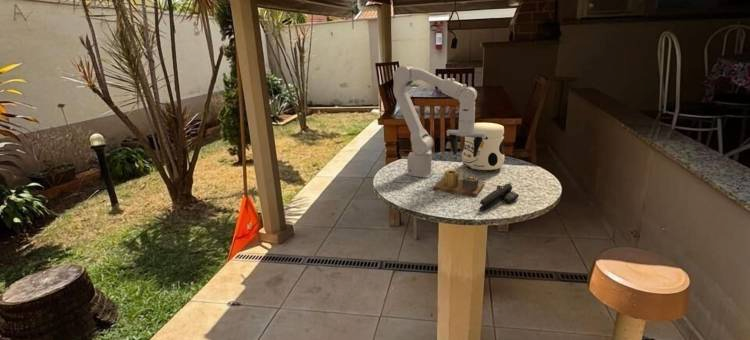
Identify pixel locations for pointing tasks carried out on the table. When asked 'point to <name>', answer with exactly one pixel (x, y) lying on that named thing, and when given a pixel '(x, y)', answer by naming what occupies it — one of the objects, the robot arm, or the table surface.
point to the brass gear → (451, 178)
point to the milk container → (485, 148)
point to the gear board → (462, 187)
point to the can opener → (499, 197)
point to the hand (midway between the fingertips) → (465, 155)
